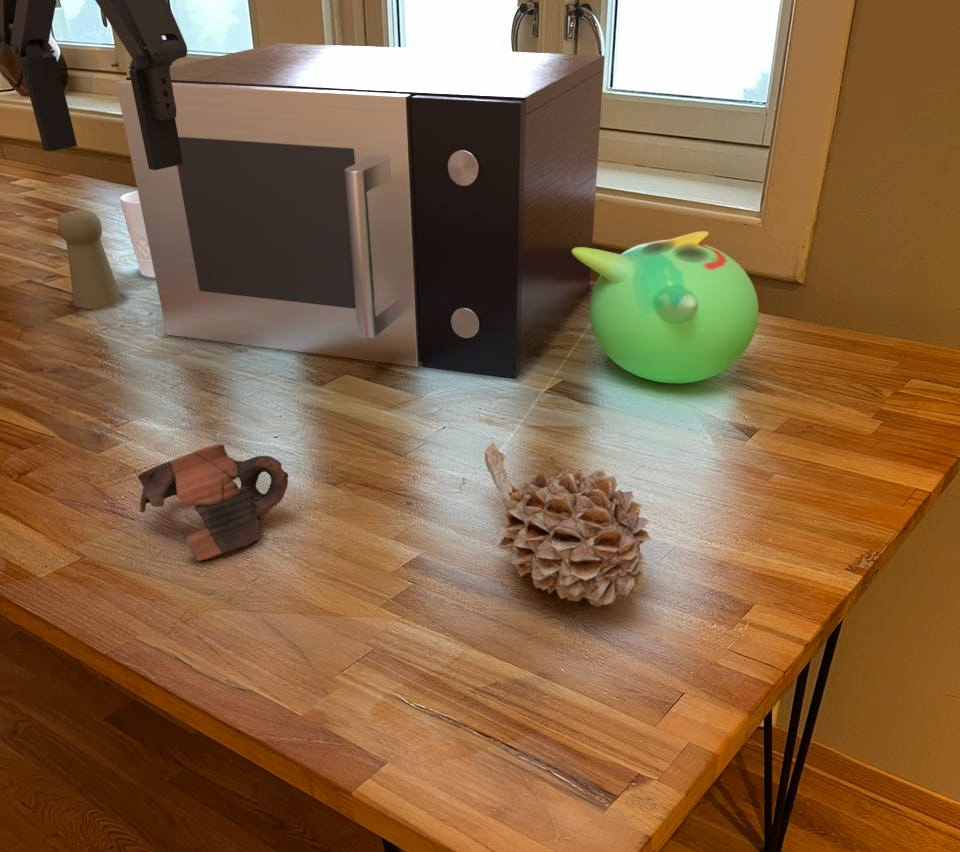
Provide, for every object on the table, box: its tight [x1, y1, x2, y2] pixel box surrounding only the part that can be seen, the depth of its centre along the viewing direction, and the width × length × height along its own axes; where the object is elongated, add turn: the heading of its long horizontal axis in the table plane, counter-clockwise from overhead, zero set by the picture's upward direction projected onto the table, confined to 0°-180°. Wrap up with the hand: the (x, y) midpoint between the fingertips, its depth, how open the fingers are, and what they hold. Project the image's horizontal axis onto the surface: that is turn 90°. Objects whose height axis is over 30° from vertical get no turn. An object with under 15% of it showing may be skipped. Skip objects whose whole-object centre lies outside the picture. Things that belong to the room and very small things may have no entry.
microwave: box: [125, 42, 605, 379], centre depth 115 cm, size 35×44×27 cm
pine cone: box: [484, 441, 652, 607], centre depth 73 cm, size 22×10×10 cm, turn 30°
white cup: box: [119, 190, 156, 279], centre depth 134 cm, size 8×8×10 cm
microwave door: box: [115, 79, 422, 368], centre depth 102 cm, size 9×33×27 cm, turn 71°
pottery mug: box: [137, 443, 289, 562], centre depth 79 cm, size 12×10×8 cm
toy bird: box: [572, 230, 760, 384], centre depth 102 cm, size 18×17×15 cm
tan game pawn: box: [57, 210, 122, 309], centre depth 123 cm, size 6×6×11 cm
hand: (111, 157), depth 77 cm, fingers open, 13 cm apart
